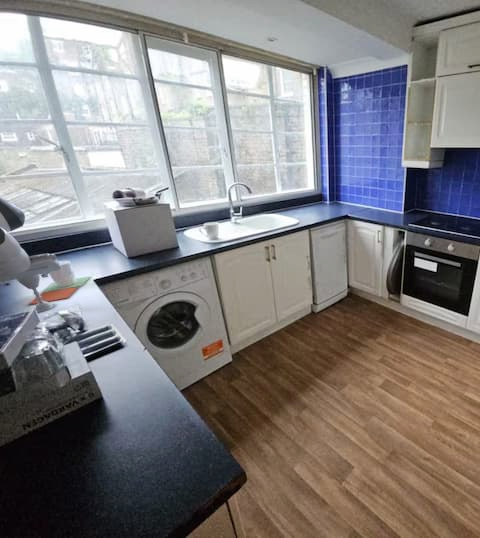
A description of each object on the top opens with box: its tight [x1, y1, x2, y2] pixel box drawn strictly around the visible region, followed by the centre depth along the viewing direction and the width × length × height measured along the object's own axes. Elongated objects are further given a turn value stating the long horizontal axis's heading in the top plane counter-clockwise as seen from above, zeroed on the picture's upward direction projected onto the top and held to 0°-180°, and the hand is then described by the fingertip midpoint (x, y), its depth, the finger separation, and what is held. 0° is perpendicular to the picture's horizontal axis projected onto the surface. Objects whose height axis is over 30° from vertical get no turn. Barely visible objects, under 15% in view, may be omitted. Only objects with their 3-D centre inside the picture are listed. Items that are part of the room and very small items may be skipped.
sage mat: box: [42, 276, 90, 293], centre depth 133 cm, size 13×11×1 cm
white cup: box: [48, 259, 77, 287], centre depth 131 cm, size 8×8×10 cm
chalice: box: [15, 274, 54, 313], centre depth 110 cm, size 7×7×18 cm
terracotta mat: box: [28, 287, 79, 306], centre depth 123 cm, size 12×11×1 cm
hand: (26, 279), depth 105 cm, fingers open, 8 cm apart
